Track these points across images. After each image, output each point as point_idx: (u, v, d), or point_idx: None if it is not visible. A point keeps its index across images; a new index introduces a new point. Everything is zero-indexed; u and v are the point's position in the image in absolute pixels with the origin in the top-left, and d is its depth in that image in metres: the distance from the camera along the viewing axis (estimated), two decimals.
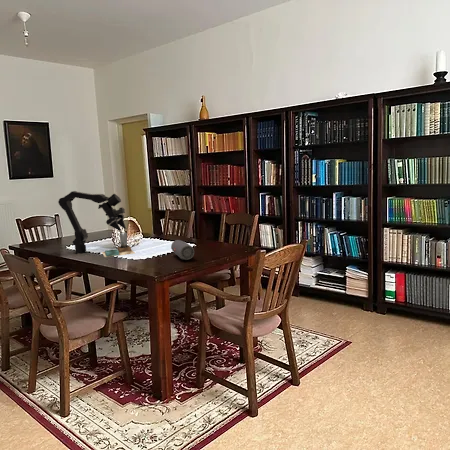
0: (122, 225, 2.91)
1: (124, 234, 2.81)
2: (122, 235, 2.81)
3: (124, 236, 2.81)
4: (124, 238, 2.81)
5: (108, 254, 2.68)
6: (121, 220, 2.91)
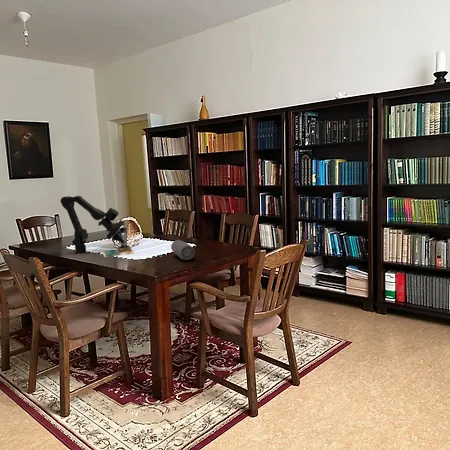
0: None
1: (124, 234, 2.81)
2: (122, 235, 2.81)
3: (124, 236, 2.81)
4: (124, 238, 2.81)
5: (108, 254, 2.68)
6: None
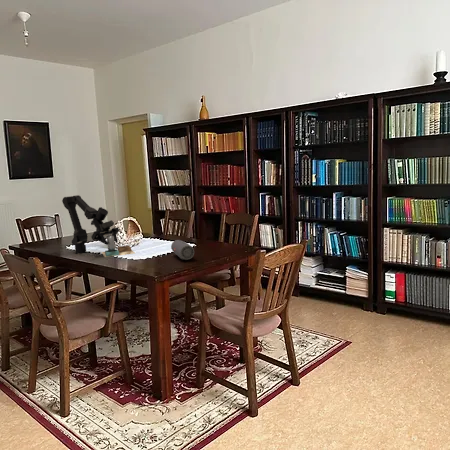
0: (114, 239, 2.75)
1: (110, 238, 2.69)
2: (108, 238, 2.69)
3: (110, 240, 2.70)
4: (109, 242, 2.70)
5: (108, 254, 2.68)
6: (113, 234, 2.76)
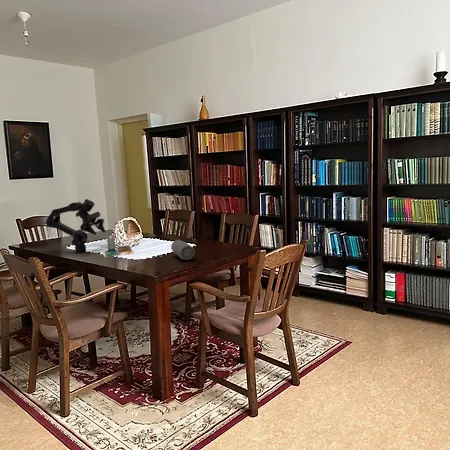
0: (102, 229, 2.88)
1: (110, 238, 2.69)
2: (108, 238, 2.70)
3: (110, 240, 2.70)
4: (110, 242, 2.70)
5: (108, 254, 2.68)
6: (100, 224, 2.89)
